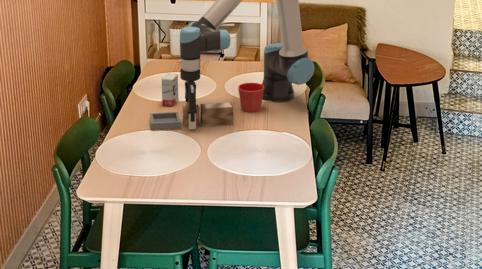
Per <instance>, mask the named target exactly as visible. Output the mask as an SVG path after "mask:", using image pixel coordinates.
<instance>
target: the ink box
mask: <svg viewBox="0 0 482 269" xmlns="http://www.w3.org/2000/svg"><path fill="white" fill-rule="evenodd" d="M161 100H162V101H161V104H162V106H164V107H174V106H175V105H176V104H177V103H178V101H179V74H178V73H171V72H170V73H169V72H167V73H165V75H163V76H162V77H161Z"/></svg>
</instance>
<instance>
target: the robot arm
mask: <svg viewBox="0 0 482 269" xmlns="http://www.w3.org/2000/svg"><path fill="white" fill-rule="evenodd" d="M242 2H243V0H216V1H215V2H214V3H213V4H212V5H211V6H210V7H209V8H208V10H206V12H204V13H203V15H202V16H201V17H200V18H199V19H198V20H194V21H191V22H190V23H189V24H188V26H185V27H183V28H181V29H180V31H179V54H180V55H179V58H180V59H179V60H178V63H179V64H180V70H179V73H180V74H179V77H180V80H181V81H184V90H185V91H184V98H185V99H184V101H185V105H189V112H187V114H189V127H188V130H196V129H197V126H196V113H197V111H196V105H197V84H196V82H195V81H199V80H200V79H201V53H206V52H214V51H215V52H216V51H217V52H218V51H222V50H223V51H224V50H227V49H229V48H230V46H231V35H230V32H228V30H227V29H218V28H219V27H220V26H221V25H222V23H224V21H226V19H227V18H228V17H229V16H230V15H231V14H232V13H233V12H234V10H235V9H237V7H238V6H239V5H240V4H241V3H242ZM276 8H277V15H278V16H277V17H278V24H279V32H280V40H281V42H278V43H277V42H276V43H275V42H274V43H269V44H266V45H265V47H264V48H263V49H264V51H263V79H262V82H261V84H262V85H263V86H264V93H263V99H262V100H264V101H269V102H277V103H278V102H279V103H280V102H288V101H291V100H293V99H294V97H295V90H294V87H293V84H294V85H303V84H306V83H307V82H308V81H310V80H311V78H312V77H313V76H314V72H315V64H314V61H313V60H312V59H311V58H309V51H308V47H306V45H304V42H303V41H304V40H303V31H302V20H301V11H300V2H299V0H276Z"/></svg>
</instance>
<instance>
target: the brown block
mask: <svg viewBox="0 0 482 269" xmlns="http://www.w3.org/2000/svg"><path fill="white" fill-rule="evenodd" d="M196 111H197V113H196V127H200V126H201V113H200V107H199V104H197V103H196ZM187 112H189V105H186V104H183V105H182V123H183V127H185V128H186V127H188V128H189V114H187Z"/></svg>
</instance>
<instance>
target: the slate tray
mask: <svg viewBox="0 0 482 269" xmlns="http://www.w3.org/2000/svg"><path fill="white" fill-rule="evenodd" d="M149 122H150V128H151V131H165V130H167V131H168V130H180V129H182V128H181V124H182V123H181V119H180V114H179V111H169V112H167V111H166V112H150V113H149Z"/></svg>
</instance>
